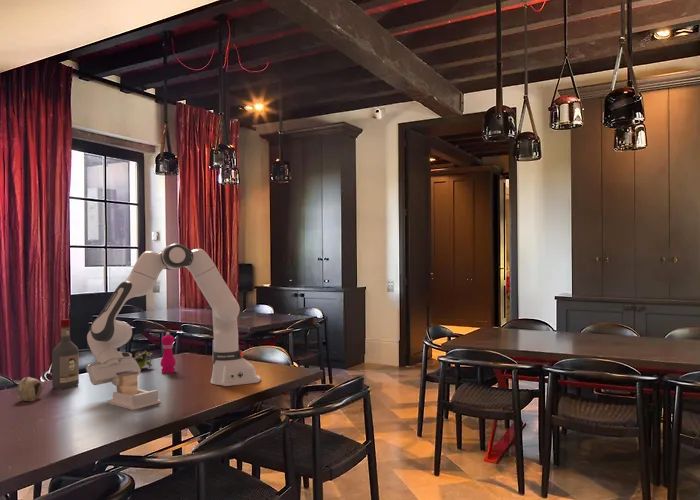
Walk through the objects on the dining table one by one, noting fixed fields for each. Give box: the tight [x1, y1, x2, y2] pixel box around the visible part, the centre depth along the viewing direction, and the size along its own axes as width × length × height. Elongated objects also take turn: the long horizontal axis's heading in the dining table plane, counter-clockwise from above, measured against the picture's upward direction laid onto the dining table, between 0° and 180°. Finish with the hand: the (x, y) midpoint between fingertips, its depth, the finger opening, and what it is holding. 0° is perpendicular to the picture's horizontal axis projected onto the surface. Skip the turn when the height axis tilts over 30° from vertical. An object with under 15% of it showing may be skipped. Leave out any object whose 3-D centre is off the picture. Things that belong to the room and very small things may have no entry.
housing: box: [107, 388, 162, 411], centre depth 214 cm, size 18×12×5 cm
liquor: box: [51, 318, 80, 390], centre depth 243 cm, size 9×9×30 cm
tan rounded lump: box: [16, 376, 45, 402], centre depth 221 cm, size 9×8×10 cm
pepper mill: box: [160, 331, 176, 374], centre depth 271 cm, size 7×7×20 cm
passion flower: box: [133, 350, 154, 370], centre depth 278 cm, size 11×11×12 cm
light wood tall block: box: [116, 370, 139, 396], centre depth 217 cm, size 5×6×10 cm
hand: (122, 387), depth 219 cm, fingers closed
